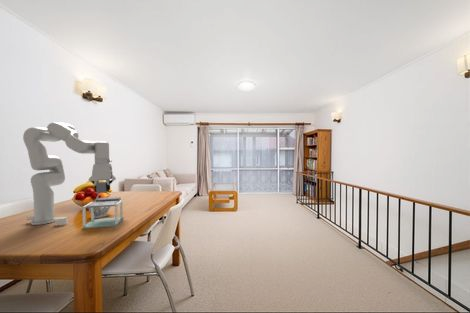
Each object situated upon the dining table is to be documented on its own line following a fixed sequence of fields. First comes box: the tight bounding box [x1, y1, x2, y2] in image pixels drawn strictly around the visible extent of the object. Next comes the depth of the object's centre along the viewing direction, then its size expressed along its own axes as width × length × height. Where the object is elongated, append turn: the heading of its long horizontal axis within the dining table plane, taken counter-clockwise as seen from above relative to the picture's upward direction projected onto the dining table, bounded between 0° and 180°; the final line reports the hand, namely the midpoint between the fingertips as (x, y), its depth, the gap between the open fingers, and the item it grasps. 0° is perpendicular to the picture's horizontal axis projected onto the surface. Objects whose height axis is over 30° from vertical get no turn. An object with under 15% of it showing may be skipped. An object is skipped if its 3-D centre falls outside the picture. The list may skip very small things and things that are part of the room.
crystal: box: [88, 195, 112, 219], centre depth 143 cm, size 10×13×15 cm
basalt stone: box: [95, 181, 109, 194], centre depth 125 cm, size 5×5×6 cm
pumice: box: [54, 216, 68, 227], centre depth 126 cm, size 5×4×4 cm
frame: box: [81, 199, 124, 230], centre depth 127 cm, size 18×15×12 cm
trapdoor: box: [87, 196, 121, 209], centre depth 130 cm, size 15×17×4 cm
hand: (102, 190), depth 125 cm, fingers closed on basalt stone, 5 cm apart
